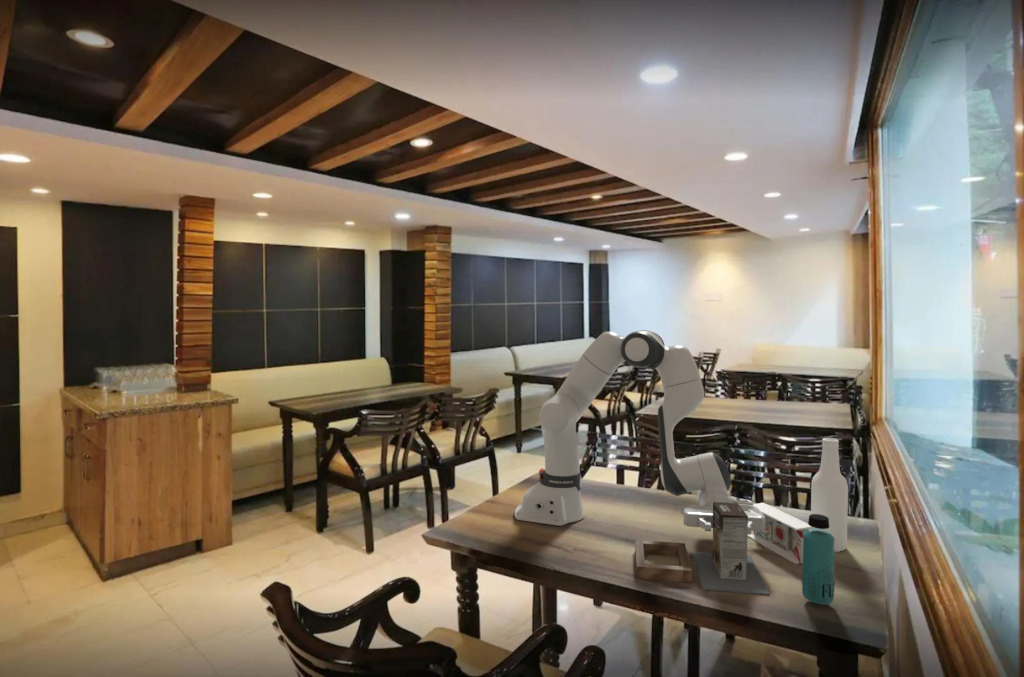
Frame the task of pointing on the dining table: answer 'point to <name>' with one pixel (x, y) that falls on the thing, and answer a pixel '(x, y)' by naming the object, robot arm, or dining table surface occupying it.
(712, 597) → the dining table surface
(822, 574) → the beverage bottle
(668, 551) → the walnut cradle
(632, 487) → the dining table surface
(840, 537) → the alcohol
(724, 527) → the coffee box
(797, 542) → the cigarette display
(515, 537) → the dining table surface
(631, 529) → the dining table surface
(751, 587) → the rubber mat
